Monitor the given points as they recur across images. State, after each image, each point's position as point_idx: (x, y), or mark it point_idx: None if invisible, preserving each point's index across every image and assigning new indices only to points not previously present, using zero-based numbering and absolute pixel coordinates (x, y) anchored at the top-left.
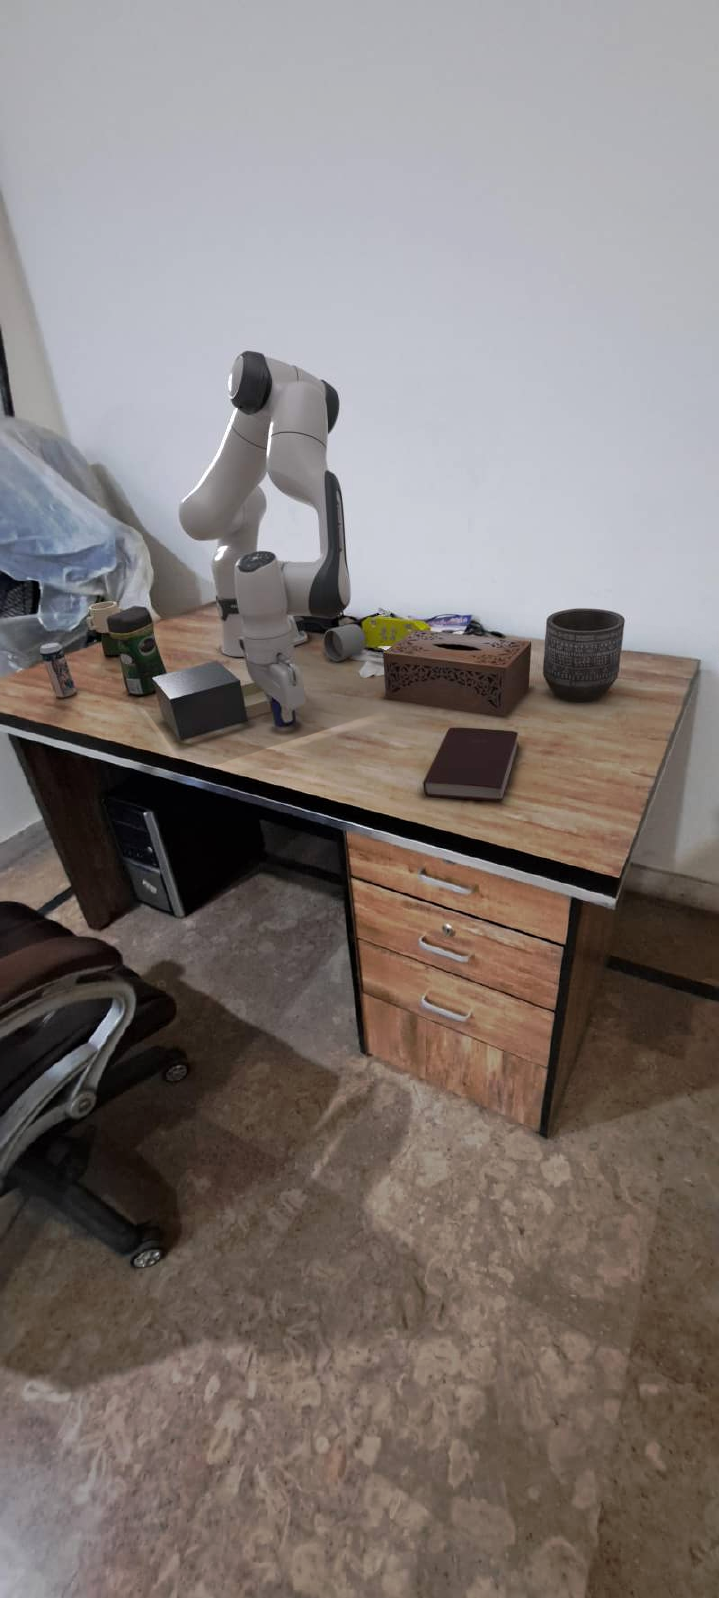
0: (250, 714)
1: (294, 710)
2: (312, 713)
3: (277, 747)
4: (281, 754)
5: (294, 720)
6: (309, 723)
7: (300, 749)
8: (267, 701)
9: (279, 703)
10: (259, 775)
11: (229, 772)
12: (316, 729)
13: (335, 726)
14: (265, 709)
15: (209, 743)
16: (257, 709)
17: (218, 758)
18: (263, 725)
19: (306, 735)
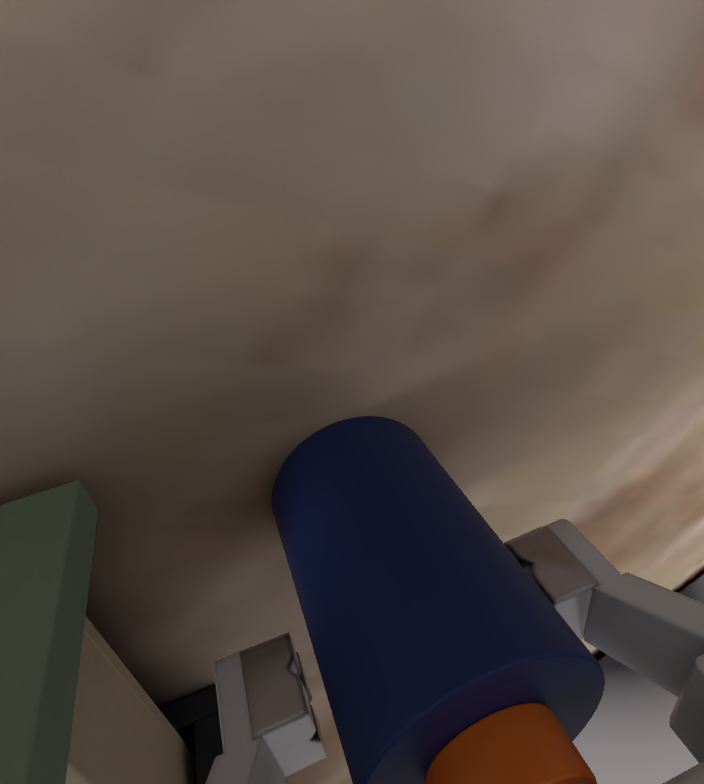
0: (169, 759)
1: (462, 524)
2: (116, 235)
3: (549, 518)
4: (623, 497)
5: (442, 473)
6: (354, 309)
7: (653, 408)
8: (97, 770)
9: (570, 733)
10: (692, 560)
11: (596, 649)
12: (494, 270)
13: (553, 70)
14: (116, 702)
15: (321, 773)
16: (147, 759)
17: None
18: (223, 618)
19: (532, 359)
